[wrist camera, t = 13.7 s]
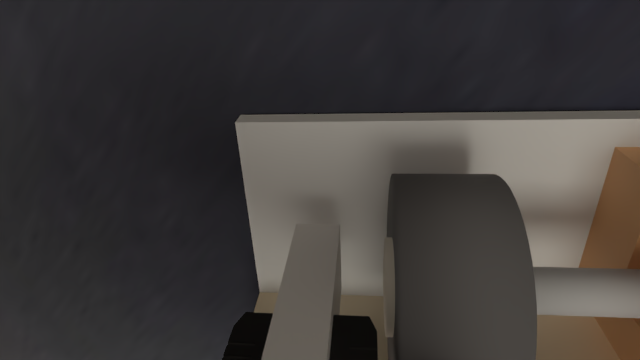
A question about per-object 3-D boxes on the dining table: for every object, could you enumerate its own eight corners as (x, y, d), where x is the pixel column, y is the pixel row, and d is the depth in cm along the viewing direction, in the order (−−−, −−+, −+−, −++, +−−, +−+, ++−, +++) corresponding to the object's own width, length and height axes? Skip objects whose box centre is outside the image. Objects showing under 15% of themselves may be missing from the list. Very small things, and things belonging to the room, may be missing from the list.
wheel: (379, 292, 18) (386, 468, 12) (383, 138, 15) (396, 272, 9) (586, 298, 17) (706, 491, 11) (639, 136, 14) (851, 285, 8)
